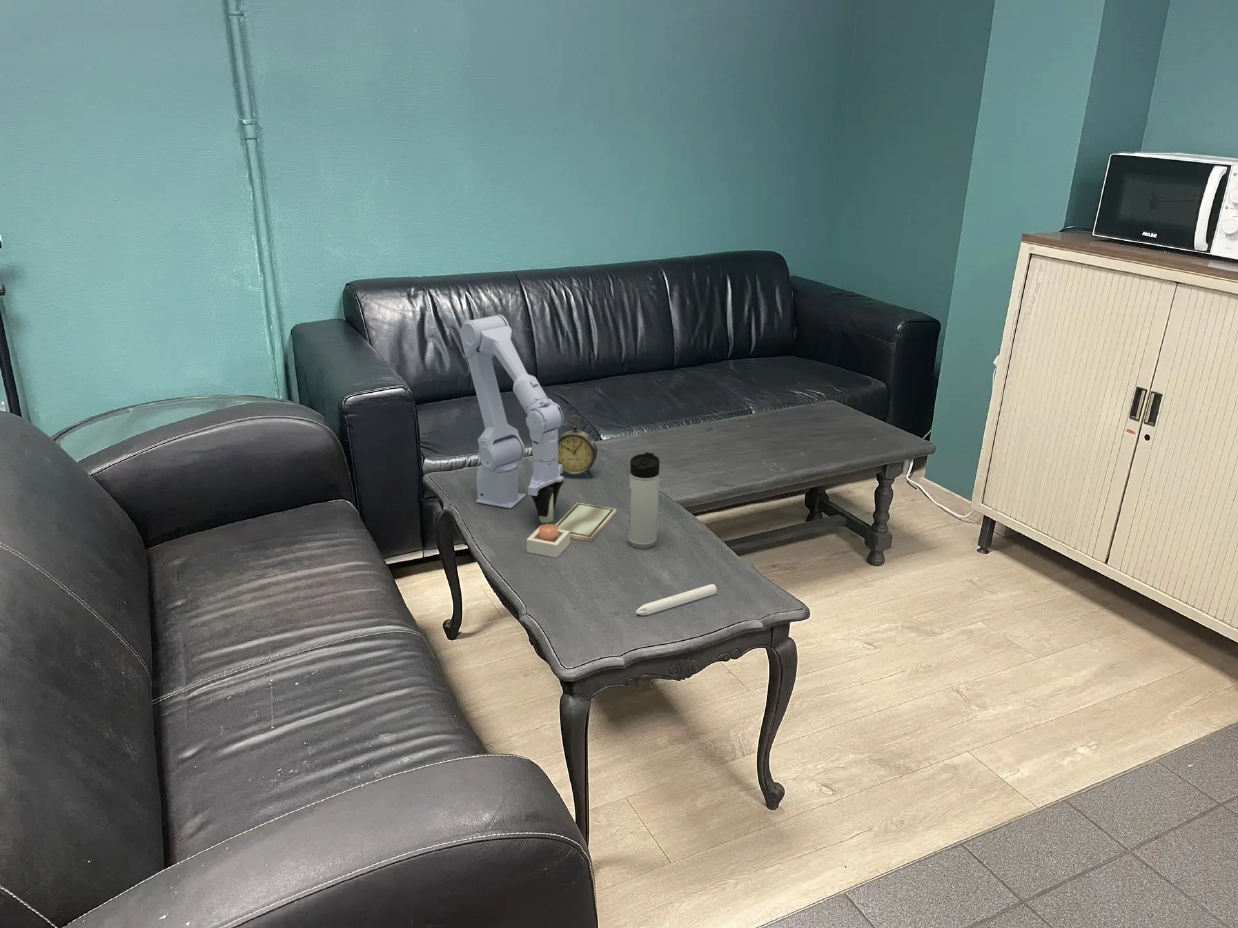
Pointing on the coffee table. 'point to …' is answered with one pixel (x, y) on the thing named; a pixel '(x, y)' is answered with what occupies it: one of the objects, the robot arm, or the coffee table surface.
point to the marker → (677, 600)
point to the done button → (548, 532)
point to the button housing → (548, 544)
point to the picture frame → (585, 520)
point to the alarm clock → (576, 451)
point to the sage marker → (550, 513)
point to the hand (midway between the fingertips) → (546, 512)
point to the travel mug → (643, 500)
